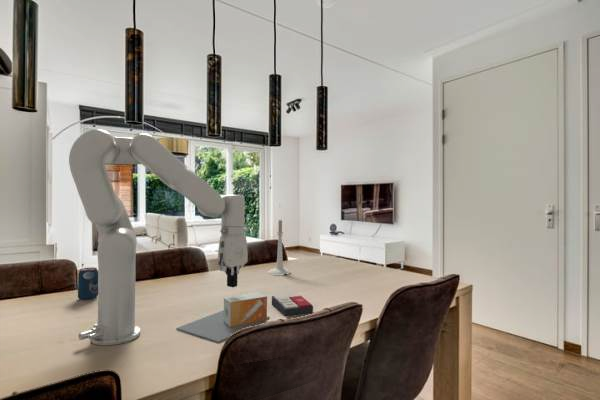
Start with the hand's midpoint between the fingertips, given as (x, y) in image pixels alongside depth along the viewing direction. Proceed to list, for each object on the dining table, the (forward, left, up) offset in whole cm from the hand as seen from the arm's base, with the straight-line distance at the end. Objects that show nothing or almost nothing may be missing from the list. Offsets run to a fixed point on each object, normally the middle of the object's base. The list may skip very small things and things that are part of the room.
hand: (232, 286), depth 112 cm
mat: (-3, 0, -12) cm, 12 cm away
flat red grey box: (+22, -10, -12) cm, 27 cm away
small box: (-5, -2, -7) cm, 9 cm away
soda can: (-13, +65, -12) cm, 67 cm away
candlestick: (+70, +29, -12) cm, 77 cm away
